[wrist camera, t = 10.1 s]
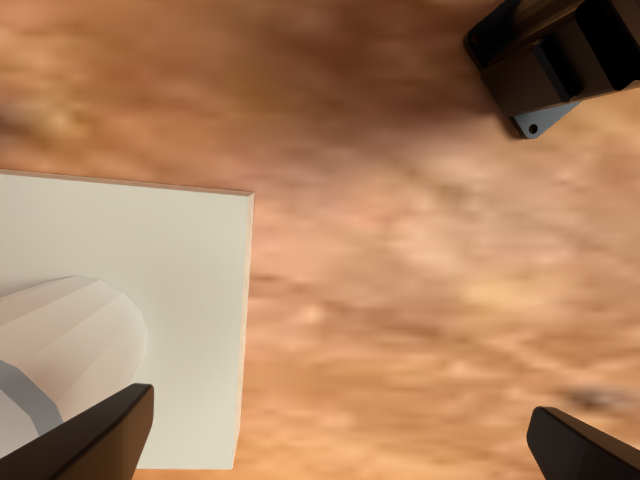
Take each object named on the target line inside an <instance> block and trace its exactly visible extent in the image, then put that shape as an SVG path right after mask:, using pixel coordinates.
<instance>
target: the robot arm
mask: <svg viewBox="0 0 640 480" xmlns="http://www.w3.org/2000/svg"><path fill="white" fill-rule="evenodd" d="M472 35H473V36H475V37H477V44H475V43H473V41H472ZM463 45H464V47H465V49H466V51H467V52H468V54H469V55H470V57H471V58H472V60H473V62H474V63H475V65H476V66H477V68H478V70H479V71H480V73H481V79H482V80H483V82H484V84H485V85H486V87H487V88H488V90H489V92H490V93H491V95H492V96H493V98H494V99H495V101H496V103H497V104H498V106H499V107H500V109H501V110H502V112H503V114H504V115H505V116H508V117H509V118H510V120H511V122H512V123H513V125H514V126H515V128H516V130H517V131H518V133H519V134H520V136H521V137H522V138H523V139H535V138H537V137H538V136H539V135H541V134H542V133H543V132H544V131H546V130H547V129H548V128H549V127H551V126H552V125H553V124H554V123H555V122H557V121H558V120H559V119H560V118H562V117H563V116H564V115H565V114H567V113H568V112H569V111H570V110H572V109H573V108H574V107H575V106H576V105H578V104H579V103H580V102H581V101H583V100H587V99H591V98H596V97H600V96H604V95H608V94H613V93H617V92H621V91H626V90H630V89H634V88H638V87H640V0H505V1H504V2H503V3H501V4H500V5H499V6H498V7H497V8H495V9H494V10H493V11H492V12H491V13H490V14H488V15H487V16H486V17H485V18H484V19H482V20H481V21H480V22H479V23H478V24H477V25H475V26H474V27H473V28H472V29H471V30H469V31H468V32H467V33H466V34H465V36H464V39H463ZM530 125H531V126H532V129H533V130H532V133H529V126H530ZM153 418H154V386H153V385H152V384H145V383H133V384H131V385H129V386H127V387H126V388H124V389H122V390H120V391H118V392H117V393H115V394H113V395H111V396H110V397H108V398H106V399H104V400H103V401H101V402H99V403H97V404H96V405H94V406H92V407H90V408H89V409H87V410H85V411H83V412H81V413H80V414H78V415H76V416H74V417H73V418H71V419H69V420H67V421H66V422H64V423H62V424H60V425H59V426H57V427H55V428H53V429H52V430H50V431H48V432H46V433H45V434H43V435H41V436H39V437H37V438H36V439H34V440H32V441H30V442H29V443H27V444H25V445H23V446H22V447H20V448H18V449H16V450H15V451H13V452H11V453H9V454H8V455H6V456H4V457H2V458H0V480H132V477H133V475H134V472H135V469H136V467H137V464H138V462H139V459H140V456H141V454H142V451H143V448H144V446H145V443H146V441H147V438H148V435H149V433H150V430H151V427H152V423H153ZM527 443H528V446H529V448H530V450H531V452H532V454H533V456H534V458H535V460H536V462H537V464H538V466H539V468H540V470H541V472H542V473H543V475H544V477H545V479H546V480H640V450H638V449H636V448H634V447H632V446H630V445H628V444H626V443H624V442H622V441H620V440H618V439H616V438H614V437H612V436H610V435H608V434H606V433H604V432H602V431H600V430H598V429H596V428H594V427H592V426H590V425H588V424H586V423H584V422H582V421H580V420H578V419H576V418H574V417H572V416H570V415H568V414H566V413H564V412H562V411H560V410H558V409H556V408H554V407H543V406H538V407H536V408H535V409H534V410H533V413H532V417H531V420H530V424H529V427H528V431H527Z"/></svg>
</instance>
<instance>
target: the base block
mask: <svg viewBox="0 0 640 480" xmlns="http://www.w3.org/2000/svg"><path fill="white" fill-rule="evenodd" d="M254 194H255V192H246V191H235V190H224V189H214V188H203V187H192V186H181V185H170V184H159V183H148V182H138V181H127V180H116V179H105V178H94V177H83V176H72V175H62V174H51V173H40V172H29V171H18V170H7V169H0V298H1V297H4V296H7V295H10V294H13V293H16V292H19V291H22V290H25V289H28V288H31V287H34V286H37V285H40V284H43V283H46V282H50V281H54V280H58V279H63V278H67V277H72V276H79V277H86V278H93V279H100V280H103V281H105V282H107V283H108V284H110V285H112V286H114V287H116V288H118V289H120V290H122V291H124V292H125V293H126V294H127V295H128V296H129V298H130V299H131V300H132V301H133V302H134V303H135V304H136V305H137V307H138V308H139V309H140V310H141V312H142V315H143V318H144V321H145V324H146V326H147V329H148V342H147V352H146V355H145V357H144V359H143V360H142V362H141V364H140V366H139V368H138V369H137V371H136V373H135V375H134V377H133V378H132V380H131V382H130V384H129V385H131V384H133V383H145V384H152V385H153V386H154V418H153V423H152V427H151V430H150V433H149V435H148V438H147V441H146V443H145V446H144V448H143V451H142V454H141V456H140V459H139V462H138V464H137V467H136V469H232V468H233V462H234V457H235V451H236V446H237V440H238V435H239V430H240V417H241V402H242V386H243V370H244V354H245V338H246V322H247V306H248V290H249V274H250V258H251V242H252V226H253V210H254Z"/></svg>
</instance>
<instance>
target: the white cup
mask: <svg viewBox="0 0 640 480" xmlns="http://www.w3.org/2000/svg"><path fill="white" fill-rule="evenodd" d="M147 342H148V329H147V326H146V324H145V321H144V318H143V315H142V312H141V310H140V309H139V308H138V307H137V305H136V304H135V303H134V302H133V301H132V300H131V299H130V298H129V296H128V295H127V294H126V293H125V292H124V291H122V290H120V289H118V288H116V287H114V286H112V285H110V284H108V283H107V282H105V281H103V280H100V279H93V278H86V277H79V276H72V277H67V278H63V279H58V280H54V281H50V282H46V283H43V284H40V285H37V286H34V287H31V288H28V289H25V290H22V291H19V292H16V293H13V294H10V295H7V296H4V297H1V298H0V458H2V457H4V456H6V455H8V454H9V453H11V452H13V451H15V450H16V449H18V448H20V447H22V446H23V445H25V444H27V443H29V442H30V441H32V440H34V439H36V438H37V437H39V436H41V435H43V434H45V433H46V432H48V431H50V430H52V429H53V428H55V427H57V426H59V425H60V424H62V423H64V422H66V421H67V420H69V419H71V418H73V417H74V416H76V415H78V414H80V413H81V412H83V411H85V410H87V409H89V408H90V407H92V406H94V405H96V404H97V403H99V402H101V401H103V400H104V399H106V398H108V397H110V396H111V395H113V394H115V393H117V392H118V391H120V390H122V389H124V388H126V387H127V386H129V384H130V382H131V380H132V378H133V377H134V375H135V373H136V371H137V369H138V368H139V366H140V364H141V362H142V360H143V359H144V357H145V355H146V352H147Z"/></svg>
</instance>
